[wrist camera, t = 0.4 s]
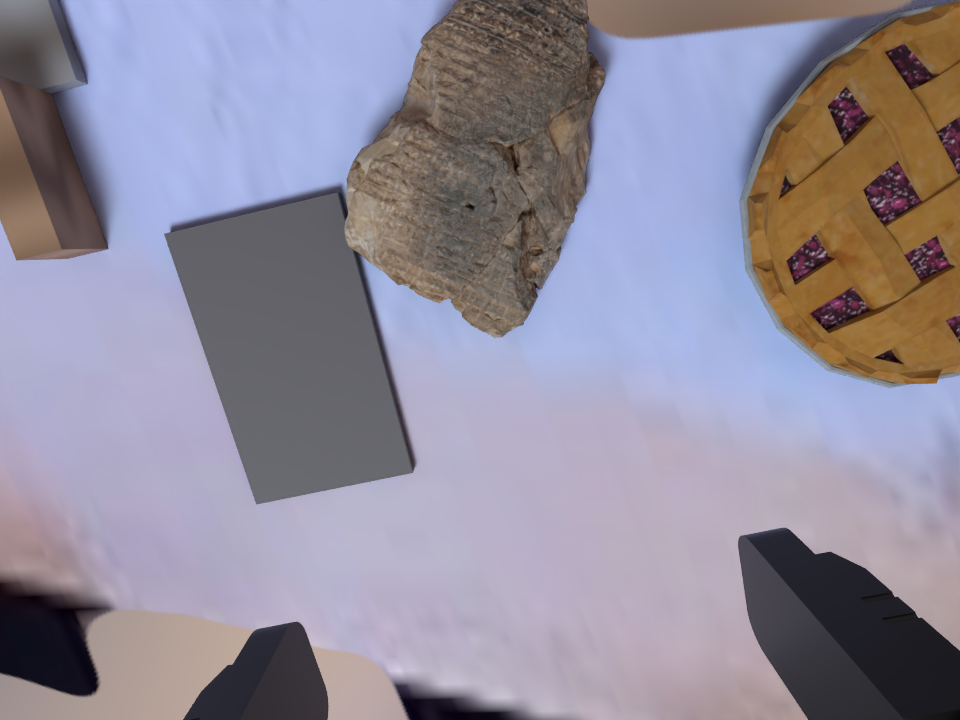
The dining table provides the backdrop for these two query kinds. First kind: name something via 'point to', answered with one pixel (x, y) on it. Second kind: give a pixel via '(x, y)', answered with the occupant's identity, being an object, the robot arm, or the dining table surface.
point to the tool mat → (293, 348)
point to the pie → (866, 205)
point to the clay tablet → (481, 159)
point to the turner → (40, 137)
